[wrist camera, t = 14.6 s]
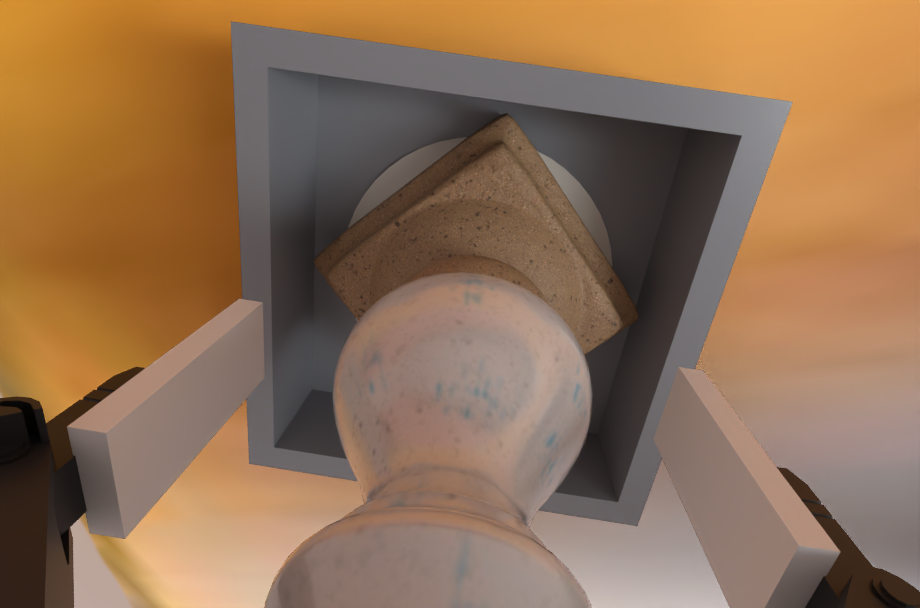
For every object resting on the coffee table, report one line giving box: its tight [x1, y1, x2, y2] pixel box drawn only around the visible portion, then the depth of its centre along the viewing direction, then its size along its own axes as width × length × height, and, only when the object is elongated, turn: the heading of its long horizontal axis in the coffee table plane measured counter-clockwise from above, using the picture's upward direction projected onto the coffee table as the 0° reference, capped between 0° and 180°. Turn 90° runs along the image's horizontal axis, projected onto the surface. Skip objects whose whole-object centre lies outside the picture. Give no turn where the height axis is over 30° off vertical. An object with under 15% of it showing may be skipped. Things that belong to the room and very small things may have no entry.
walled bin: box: [231, 22, 792, 526], centre depth 22 cm, size 18×18×6 cm
